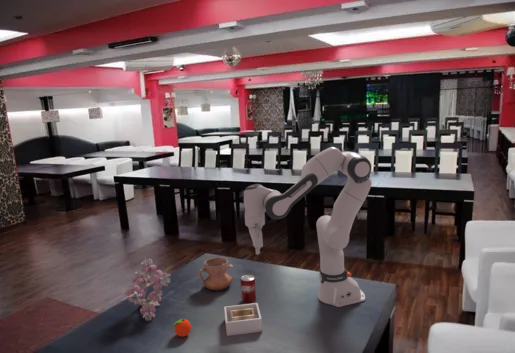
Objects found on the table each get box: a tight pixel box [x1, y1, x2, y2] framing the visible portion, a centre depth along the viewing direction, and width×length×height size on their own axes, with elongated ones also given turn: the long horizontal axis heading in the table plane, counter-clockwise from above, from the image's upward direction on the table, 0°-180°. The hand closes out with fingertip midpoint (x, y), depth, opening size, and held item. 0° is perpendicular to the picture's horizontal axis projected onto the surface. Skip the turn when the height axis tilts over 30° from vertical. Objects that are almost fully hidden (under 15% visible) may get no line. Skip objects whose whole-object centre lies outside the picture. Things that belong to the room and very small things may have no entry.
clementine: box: [171, 318, 192, 338], centre depth 163 cm, size 8×7×7 cm
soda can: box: [240, 274, 257, 304], centre depth 188 cm, size 7×7×12 cm
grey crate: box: [223, 302, 263, 337], centre depth 168 cm, size 15×13×6 cm
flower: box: [122, 257, 173, 322], centre depth 182 cm, size 20×22×25 cm
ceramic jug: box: [198, 256, 233, 291], centre depth 203 cm, size 18×14×14 cm
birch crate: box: [230, 308, 255, 321], centre depth 168 cm, size 10×6×5 cm, turn 98°
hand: (256, 249), depth 176 cm, fingers open, 8 cm apart
